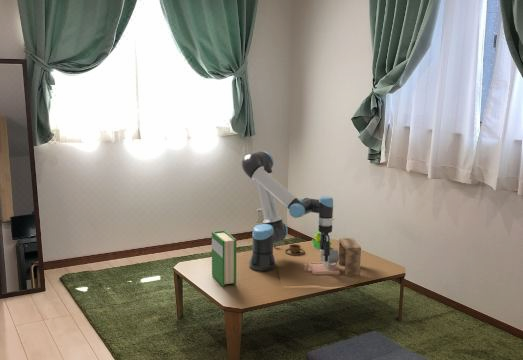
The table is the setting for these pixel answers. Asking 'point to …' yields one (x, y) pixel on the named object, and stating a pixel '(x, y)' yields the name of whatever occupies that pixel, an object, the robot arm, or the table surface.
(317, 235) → the fruit basket
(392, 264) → the table surface
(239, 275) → the table surface
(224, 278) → the hardback book
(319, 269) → the tray
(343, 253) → the shelf
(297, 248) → the place setting
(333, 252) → the ceramic mug
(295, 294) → the table surface
